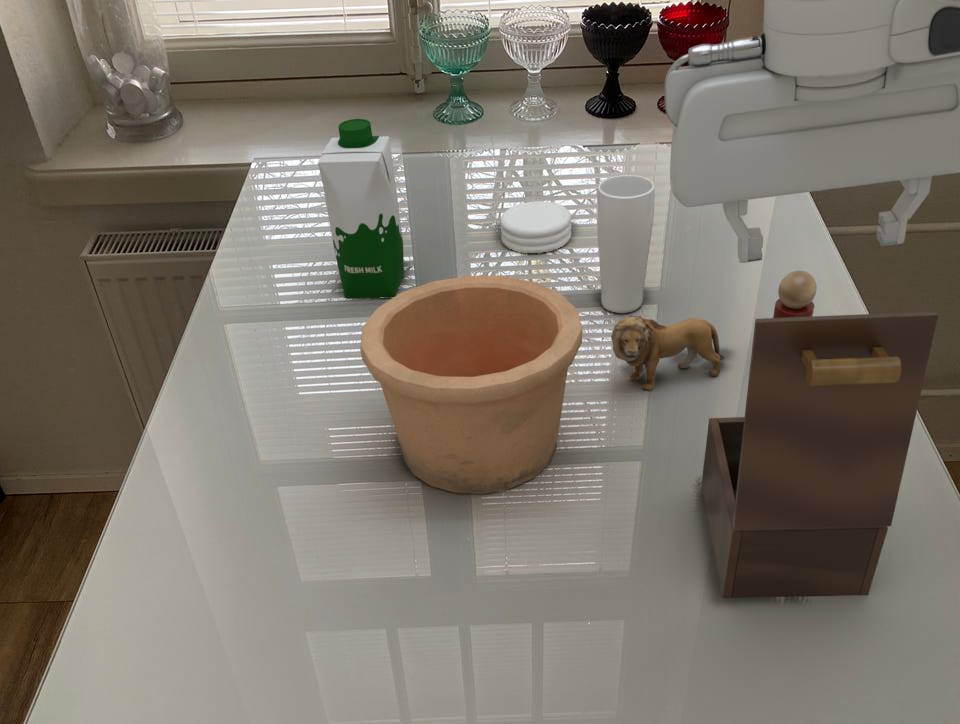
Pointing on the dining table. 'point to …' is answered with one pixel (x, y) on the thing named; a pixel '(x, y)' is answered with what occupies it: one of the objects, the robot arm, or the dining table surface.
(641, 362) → the lion figurine
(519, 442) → the pottery
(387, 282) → the milk carton
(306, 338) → the dining table surface
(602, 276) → the drinking glass
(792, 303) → the peg doll
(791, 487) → the lid
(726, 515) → the box
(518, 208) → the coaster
